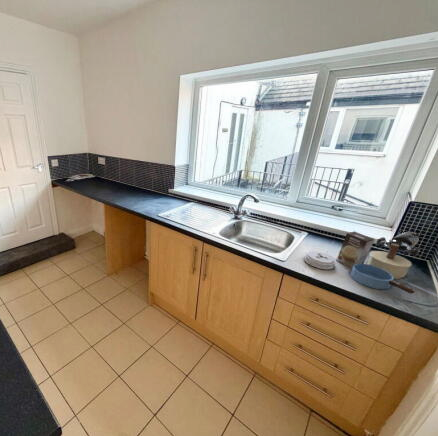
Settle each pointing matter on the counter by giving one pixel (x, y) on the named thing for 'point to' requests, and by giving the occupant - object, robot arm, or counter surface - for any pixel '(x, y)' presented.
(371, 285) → the pan
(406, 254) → the robot arm
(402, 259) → the pot lid
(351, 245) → the coffee box
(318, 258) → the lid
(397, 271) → the pot
